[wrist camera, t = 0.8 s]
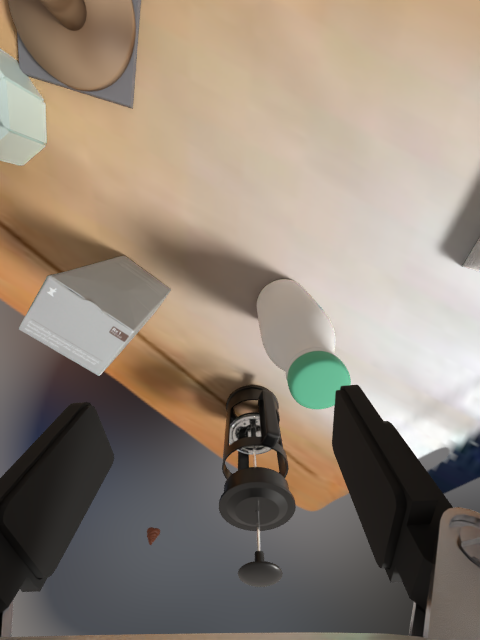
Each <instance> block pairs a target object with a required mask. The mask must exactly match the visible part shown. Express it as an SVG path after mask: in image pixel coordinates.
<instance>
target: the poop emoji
mask: <svg viewBox="0 0 480 640" xmlns="http://www.w3.org/2000/svg"><path fill="white" fill-rule="evenodd" d="M159 534H160V529H158V528H153V527H150V528H148V529H147V538H148V542H149V544H150V545H152V543H153V542H154V541H155V539H156V538H157V537H158V536H159Z"/></svg>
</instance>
